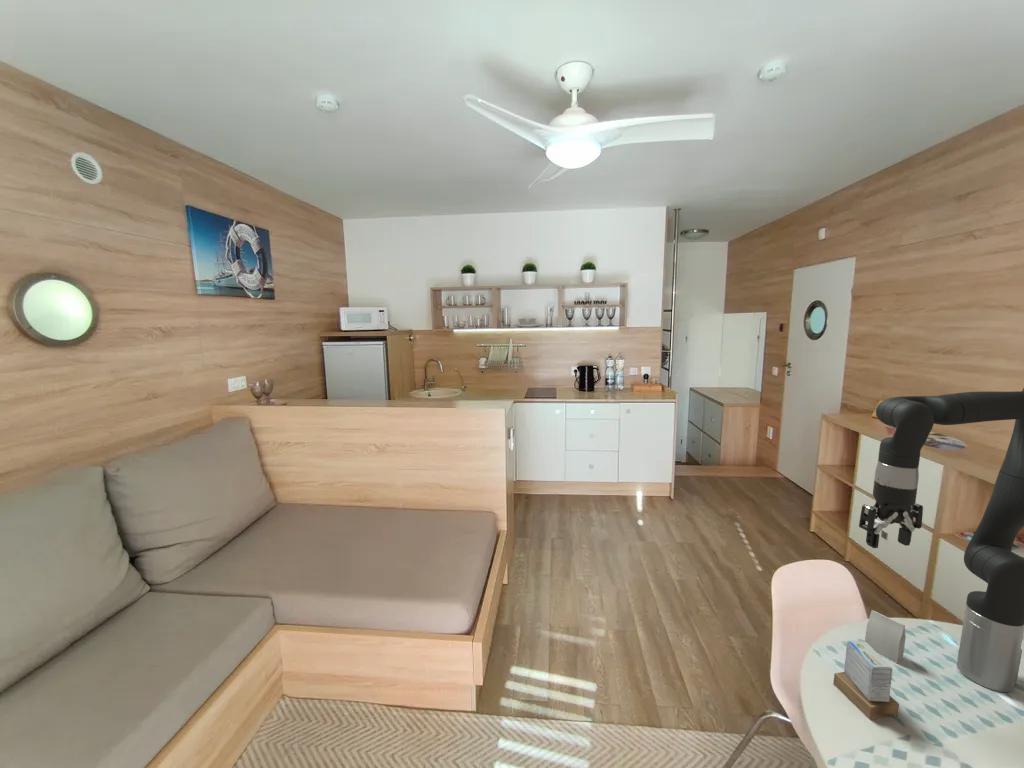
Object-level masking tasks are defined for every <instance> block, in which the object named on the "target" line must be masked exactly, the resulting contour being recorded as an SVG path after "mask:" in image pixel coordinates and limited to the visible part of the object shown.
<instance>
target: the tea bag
mask: <svg viewBox="0 0 1024 768" xmlns="http://www.w3.org/2000/svg"><path fill="white" fill-rule="evenodd" d="M864 637H865V638H864V642H867V643H868V644H869V645H870V646H871V647H872V648H873V649H874V650H875V651H876V652H877V653H879V655H880V656H881V657H884V658H885V659H887V658H888V659H887V660H888V661H892V662H893V663H895V664H898V663H899V662H900V661H902V659H904V653H905V651H904V650H905V645H906V625H904V624H902V623H900V622H898V621H896V620H894V619H892V618H890V617H888V616H886V615H884V614H881V613H880V612H877V611H876V610H873V609H871V611H870V615H869V618H868V621H867V623H866V629H865V636H864Z"/></svg>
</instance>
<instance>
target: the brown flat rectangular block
mask: <svg viewBox="0 0 1024 768" xmlns="http://www.w3.org/2000/svg"><path fill="white" fill-rule="evenodd" d="M832 685H834V686H835V688H836V689H838V690H839V691H840V693H842V694H843V696H845V697H846V698H847V699H848V700H849V701H850V702H851V703H852V704H853V705H854V706H855V707H856V708H857V709H858V710H859V711H860V712H861V713H862V714H863V715H865V717H866V718H868V719H869V720H872V719H873V720H874V719H875V720H876V719H882V718H889V717H898V715H899V709H900V703H899V702H898V701H897V700H896V699H894V698H893V697H892V696H891V695H890V698H889V702H880V701H869V700H868V699H867V698H866V697H865V696H864V694H863V693H862V692H861V691H860V690H859V689H858V687H857V686H856V685H855V684H854V683H853V682H852V680H851V679H850V678H849V677H848V676H847V675H846V673H845V672H843V671H841V672H834V674H833V684H832Z"/></svg>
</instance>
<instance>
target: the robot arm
mask: <svg viewBox="0 0 1024 768" xmlns="http://www.w3.org/2000/svg"><path fill="white" fill-rule="evenodd" d="M875 416H876V417H877V418H876V419H878V420H879V422H880V423H882V424H884V425H885V426H889V427H891V428H895V431H894V433H893V435H892V436H889V437H885V438H883V439H882V440H881V441H880V444H879V450H878V459H877V464H876V467H875V471H874V479H873V489H872V497H873V498H874V499H875V504H874V505H868V504H862V506H861V511H860V517H859V521H858V522H859V523H858V527H859V528H860V529H863V530H865V531H866V536H865V537H866V539H865V543H866V544H867V546H869V547H870V548H872V549H878V548H879V542H880V533H881V531H882V530H883V529H886V528H888V526H889V525H893V524H898V525H899V527H898V533H897V534H898V535H897V542H898V543H899V544H901V545H903V546H905V547H906V546H910V545H911V541H912V535H913V532H914V531H915V530H916V529H918V530H919V529H921V528H922V527H923V526H922V525H923V512H924V506H923V505H921V504H919V503H917V502H916V501H917V493H918V486H919V480H920V479H919V477H920V472H919V467H920V458H921V450H922V448H923V446H925V444H926V441H927V439H928V437H929V435H931V434H930V433H931V431H932V430H933V426H934V424H935V425H940V426H954V425H964V424H974V423H984V422H995V421H1010V420H1015V421H1014V424H1013V425H1014V426H1013V430H1012V434H1011V437H1010V441H1009V444H1008V447H1007V450H1006V453H1005V456H1004V460H1003V461H1002V463H1001V467H1000V468H999V471H998V474H997V477H996V480H995V482H994V485H993V490H992V492H991V495H990V499H989V501H988V503H987V505H986V508H985V510H984V513H983V516H982V518H981V520H980V522H979V524H978V526H977V528H976V530H975V531H974V533H973V535H972V537H971V538H970V540H969V542H968V544H967V546H966V548H965V551H964V554H963V562H964V565H965V567H966V568H967V570H968V571H969V572H971V573H972V574H973V575H975V576H976V577H977V578H979V579H980V580H982V581H983V582H985V583H986V584H987V586H986V591H982V590H980V591H979V590H974V591H970V592H969V593H968V594H967V596H966V602H965V603H966V604H965V609H964V615H963V622H962V628H961V636H960V639H959V640H960V641H959V648H958V652H957V653H958V655H957V661H956V667H957V669H958V670H959V672H960V673H962V675H964V676H965V677H966V678H967V679H969V680H971V681H973V682H974V683H976V684H978V685H980V686H983V687H985V688H986V689H989V690H993V691H996V692H1000V693H1010V692H1012V691H1013V690H1014V687H1015V685H1017V682H1018V678H1019V677H1018V675H1019V671H1020V664H1021V658H1022V653H1023V649H1022V648H1021V647H1022V642H1023V637H1024V557H1022V556H1021V555H1019V554H1016V553H1015V552H1013V551H1012V549H1013V546H1014V542H1015V540H1016V538H1017V535H1018V534H1019V532H1020V531H1021V530H1022V529H1023V528H1024V387H1023V389H1022V391H1020V390H1019V391H1018V390H1017V391H965V392H956V393H949V394H948V393H947V394H941V395H940V394H939V395H927V396H926V395H909V396H908V395H905V396H894V397H889V398H886V399H884V400H883V401H881V402H879V404H878V405H877V407H876V409H875ZM878 519H879V520H878ZM914 519H915V521H914ZM866 522H867V524H866ZM875 525H876V526H875ZM874 526H875V527H874Z"/></svg>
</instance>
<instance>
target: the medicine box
mask: <svg viewBox="0 0 1024 768" xmlns="http://www.w3.org/2000/svg"><path fill="white" fill-rule="evenodd" d="M843 670H844V672H845V673H846V675H847V676H848V677H849V678H850V679H851V680H852V682H853V683H854V684H855V685H856V686H857V687H858V689H859V690H860V691H861V692H862V693H863V694H864V696H865V697H866V698H867V699H868V700H869V701H880V702H889V698H890V696H891V687H892V678H893V667H892V666H891V665H890V664H889V663H888V662H887V661H886V660H885V659H884V658H883V656H882V655H880V654H878V653H877V652H876V651H875V650H874V649H873V648H872V647H871V646H870V645H869V644H868V643H867V642H865V641H858V640H847V641H846V651H845V659H844V669H843Z"/></svg>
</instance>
